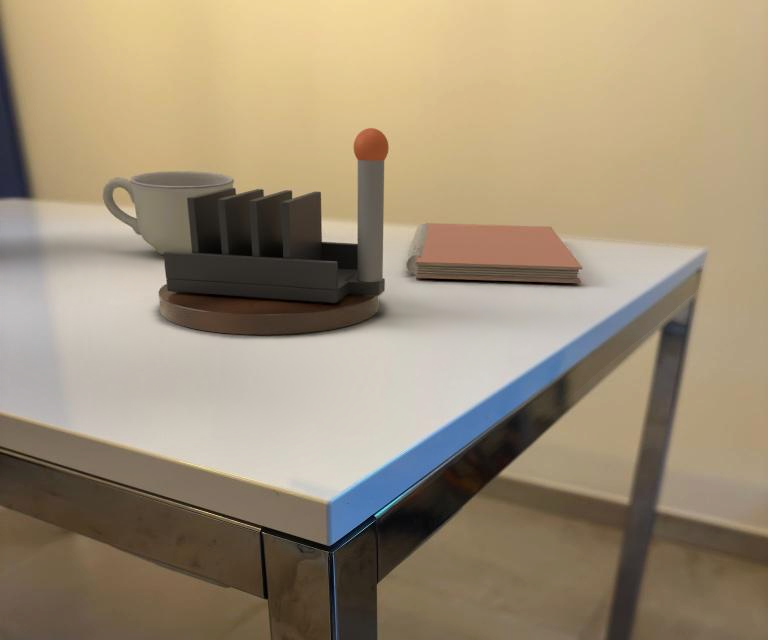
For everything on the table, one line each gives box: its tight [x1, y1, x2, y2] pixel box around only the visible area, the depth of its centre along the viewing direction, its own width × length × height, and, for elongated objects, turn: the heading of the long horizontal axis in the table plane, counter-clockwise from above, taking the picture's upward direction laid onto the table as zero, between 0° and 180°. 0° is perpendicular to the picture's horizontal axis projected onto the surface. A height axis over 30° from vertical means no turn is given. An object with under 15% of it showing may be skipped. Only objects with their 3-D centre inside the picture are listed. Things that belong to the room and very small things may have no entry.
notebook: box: [405, 222, 583, 284], centre depth 87 cm, size 27×17×2 cm, turn 175°
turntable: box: [158, 283, 380, 336], centre depth 65 cm, size 18×18×2 cm
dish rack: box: [162, 127, 389, 303], centre depth 61 cm, size 17×9×12 cm, turn 77°
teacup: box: [102, 170, 235, 255], centre depth 85 cm, size 14×11×8 cm
